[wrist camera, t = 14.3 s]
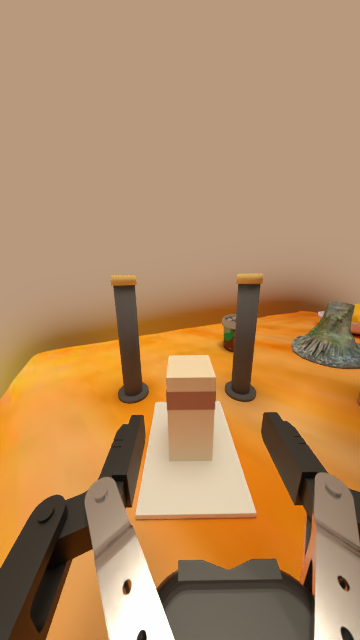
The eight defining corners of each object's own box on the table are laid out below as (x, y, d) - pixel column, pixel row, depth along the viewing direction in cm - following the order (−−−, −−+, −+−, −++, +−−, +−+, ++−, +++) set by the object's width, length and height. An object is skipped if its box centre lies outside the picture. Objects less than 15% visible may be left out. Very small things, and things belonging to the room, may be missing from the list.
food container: (222, 339, 66) (223, 313, 63) (239, 341, 64) (241, 314, 62) (218, 352, 55) (219, 321, 52) (239, 355, 53) (241, 323, 50)
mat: (219, 403, 33) (219, 401, 33) (255, 517, 18) (256, 513, 18) (155, 404, 33) (155, 402, 33) (135, 519, 18) (135, 515, 17)
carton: (206, 424, 28) (208, 355, 25) (212, 461, 22) (216, 377, 19) (170, 425, 28) (168, 355, 25) (168, 461, 22) (165, 378, 19)
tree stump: (276, 351, 57) (288, 295, 55) (305, 351, 67) (317, 305, 66) (352, 375, 41) (372, 299, 40) (375, 371, 51) (392, 311, 50)
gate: (248, 382, 40) (259, 273, 34) (261, 401, 34) (276, 273, 28) (123, 384, 39) (112, 275, 33) (114, 403, 34) (98, 275, 28)
